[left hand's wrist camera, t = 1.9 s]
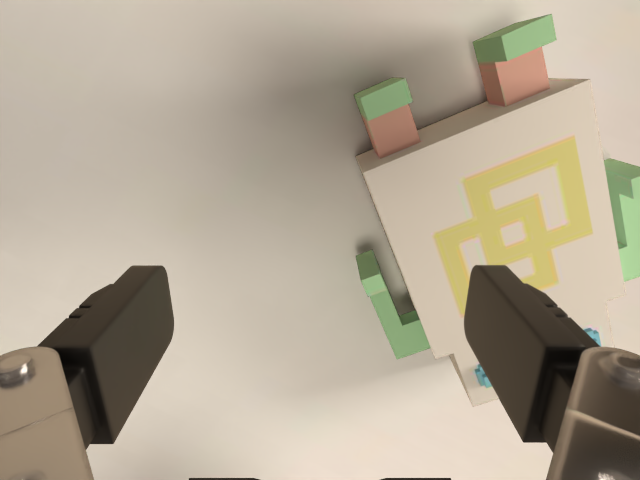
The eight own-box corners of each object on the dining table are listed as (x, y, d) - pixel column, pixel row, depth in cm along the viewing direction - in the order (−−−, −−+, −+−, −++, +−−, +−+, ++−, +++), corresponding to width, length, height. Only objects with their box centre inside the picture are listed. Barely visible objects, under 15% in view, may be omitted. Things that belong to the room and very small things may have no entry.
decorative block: (682, 348, 31) (424, 429, 33) (623, 304, 37) (408, 375, 39) (639, -24, 22) (293, 128, 25) (570, -3, 28) (298, 117, 31)
